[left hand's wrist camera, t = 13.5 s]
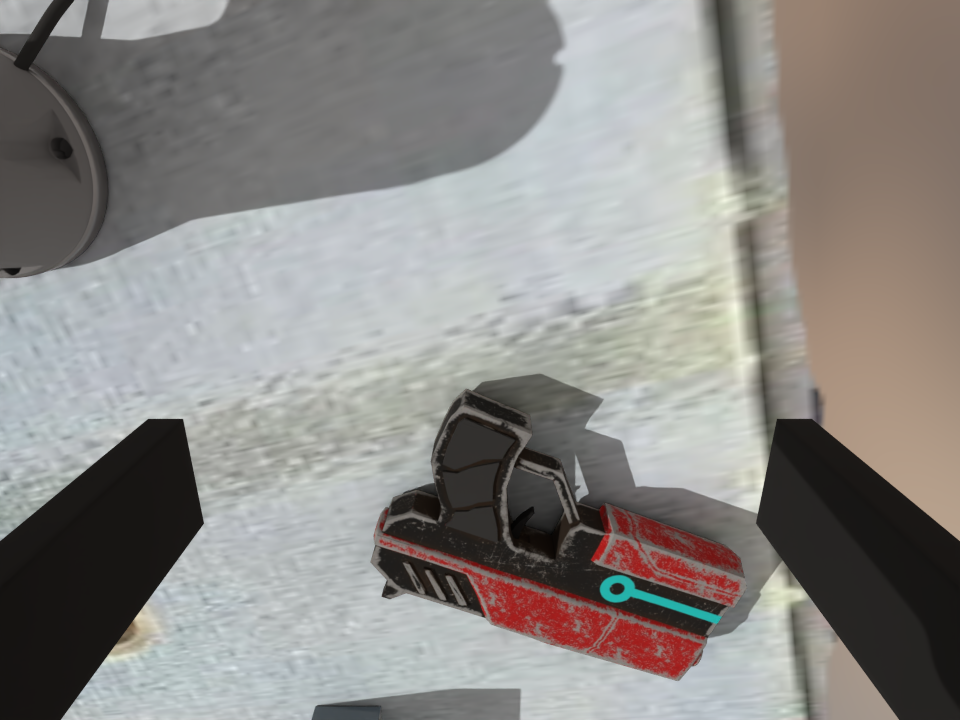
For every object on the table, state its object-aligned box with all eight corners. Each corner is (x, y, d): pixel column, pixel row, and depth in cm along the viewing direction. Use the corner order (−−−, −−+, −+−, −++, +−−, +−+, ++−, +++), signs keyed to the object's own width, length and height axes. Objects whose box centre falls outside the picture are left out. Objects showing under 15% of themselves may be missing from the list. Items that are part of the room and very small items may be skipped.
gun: (426, 397, 41) (351, 593, 48) (804, 530, 45) (685, 696, 51) (433, 373, 45) (363, 556, 52) (777, 495, 49) (670, 653, 56)
